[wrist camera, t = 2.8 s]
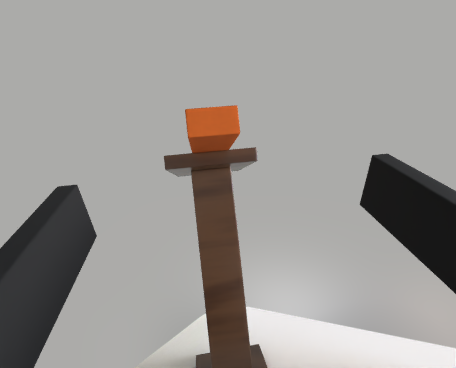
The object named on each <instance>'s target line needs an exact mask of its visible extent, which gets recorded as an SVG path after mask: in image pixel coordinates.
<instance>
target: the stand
mask: <svg viewBox="0 0 456 368" xmlns="http://www.w3.org/2000/svg"><path fill="white" fill-rule="evenodd" d="M164 161H165V169H166V170H167V171H169V172H171V173H173V174H175V175H176V176H189V175H192V184H193V193H194V203H195V213H196V222H197V232H198V241H199V251H200V260H201V269H202V278H203V289H204V298H205V308H206V317H207V326H208V336H209V345H210V353H206V354H200V355H196V368H267V365H266V362H265V360H264V357H263V354H262V351H261V349H260V346H259V344H257V345H252V346H250V342H249V333H248V324H247V314H246V305H245V296H244V286H243V277H242V268H241V259H240V249H239V240H238V231H237V221H236V213H235V203H234V194H233V184H232V175H231V171H238V170H241V169H242V168H244V167H246V166H248V165H250V164H252V163H254V162H256V161H257V150H256V147H255V148H244V149H233V150H222V151H212V152H201V153H190V154H179V155H168V156H164Z"/></svg>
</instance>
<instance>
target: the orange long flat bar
mask: <svg viewBox="0 0 456 368" xmlns="http://www.w3.org/2000/svg"><path fill="white" fill-rule="evenodd" d="M185 113H186V123H187V132H188V139H189V142H190V146H191V150H192V153H201V152H212V151H222V150H229V149H230V147H231V146H232V144H233V143H234V141H235V140H236V138H237V137H238V135H239V134H240V127H239V119H238V108H237V106H222V107H209V108H195V109H186V110H185Z"/></svg>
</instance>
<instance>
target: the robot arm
mask: <svg viewBox="0 0 456 368" xmlns="http://www.w3.org/2000/svg"><path fill="white" fill-rule="evenodd" d="M360 205H361V206H362V207H363V208H365V210H366V211H367V212H368V213H369V214H371V215H372V216H373V217H374V218H375V219H376V220H377V221H378V222H379V223H380V224H381V225H382V226H383V227H385V228H386V229H387V230H388V231H389V232H390V233H391V234H392V235H393V236H394V237H395V238H396V239H397V240H398V241H400V242H401V243H402V244H403V245H404V246H405V247H406V248H407V249H408V250H409V251H410V252H411V253H412V254H414V255H415V256H416V257H417V258H418V259H419V260H420V261H421V262H422V263H423V264H424V265H425V266H427V268H429V269H430V270H431V271H432V272H433V273H434V274H435V275H436V276H437V277H438V278H440V279H441V280H442V281H443V282H444V283H445V284H446V285H447V286H448V287H449V288H450V289H451V290H452V291H453V292H454V293H455V294H456V191H455V190H453V189H451V188H449V187H448V186H446V185H444V184H442V183H440V182H438V181H436V180H435V179H433V178H431V177H429V176H427V175H425V174H424V173H422V172H420V171H418V170H416V169H415V168H413V167H411V166H409V165H407V164H405V163H403V162H402V161H400V160H398V159H396V158H394V157H393V156H391V155H389V154H380V155H372V158H371V162H370V166H369V171H368V174H367V178H366V182H365V186H364V190H363V194H362V198H361V201H360ZM96 236H97V235H96V233H95V230H94V228H93V225H92V222H91V220H90V217H89V215H88V212H87V209H86V207H85V204H84V202H83V199H82V196H81V194H80V191H79V189H78V186H77V185H71V186H59V187H57V188H56V189H55V190H54V191H53V192H52V193H51V194H50V195H49V197H48V198H47V199H46V200H45V201H44V202H43V203H42V204H41V205H40V206H39V207H38V208H37V209H36V210H35V212H34V213H33V214H32V215H31V216H30V217H29V218H28V219H27V220H26V221H25V222H24V224H23V225H22V226H21V227H20V228H19V229H18V230H17V231H16V232H15V233H14V234H13V235H12V236H11V238H10V239H9V240H8V241H7V242H6V243H5V244H4V245H3V246H2V247H1V249H0V368H34V366H35V364H36V362H37V359H38V358H39V355H40V353H41V351H42V349H43V347H44V345H45V343H46V341H47V339H48V337H49V335H50V332H51V330H52V328H53V326H54V324H55V322H56V320H57V318H58V316H59V314H60V312H61V309H62V308H63V305H64V303H65V301H66V299H67V297H68V295H69V293H70V291H71V289H72V287H73V284H74V282H75V280H76V278H77V276H78V274H79V272H80V270H81V268H82V266H83V264H84V262H85V260H86V257H87V255H88V253H89V251H90V249H91V247H92V245H93V243H94V241H95V239H96Z"/></svg>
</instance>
